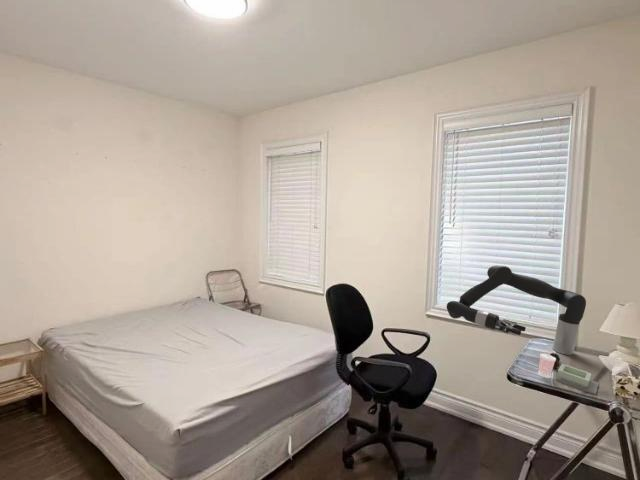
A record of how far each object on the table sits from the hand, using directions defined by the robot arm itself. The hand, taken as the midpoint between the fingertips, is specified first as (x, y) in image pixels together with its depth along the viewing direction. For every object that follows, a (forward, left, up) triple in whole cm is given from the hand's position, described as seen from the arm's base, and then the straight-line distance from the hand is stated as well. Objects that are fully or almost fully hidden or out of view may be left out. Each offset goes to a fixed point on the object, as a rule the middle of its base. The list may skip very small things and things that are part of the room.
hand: (523, 331), depth 160 cm
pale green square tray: (-6, +23, -17) cm, 29 cm away
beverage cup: (0, +11, -17) cm, 21 cm away
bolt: (-20, +12, -17) cm, 29 cm away
